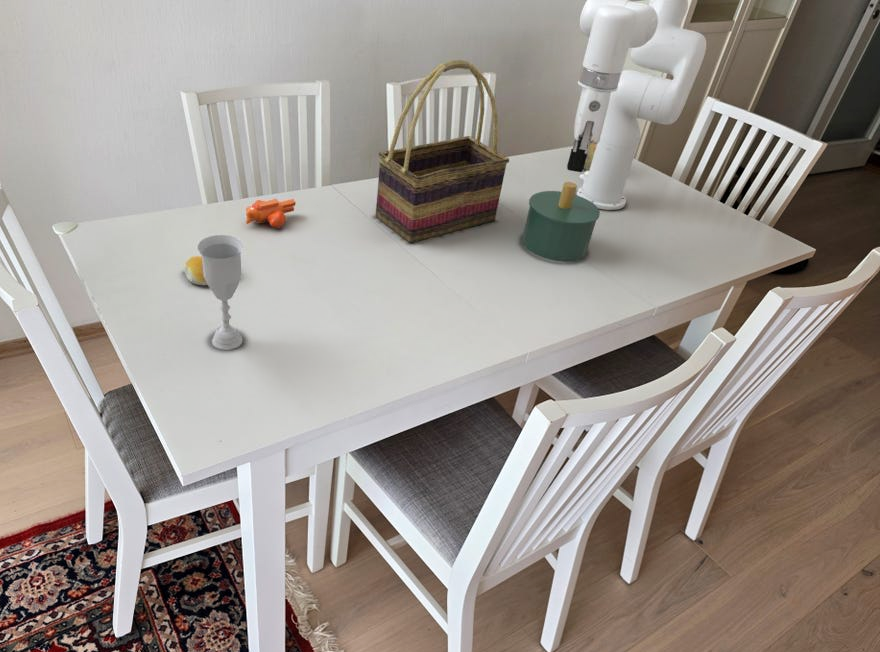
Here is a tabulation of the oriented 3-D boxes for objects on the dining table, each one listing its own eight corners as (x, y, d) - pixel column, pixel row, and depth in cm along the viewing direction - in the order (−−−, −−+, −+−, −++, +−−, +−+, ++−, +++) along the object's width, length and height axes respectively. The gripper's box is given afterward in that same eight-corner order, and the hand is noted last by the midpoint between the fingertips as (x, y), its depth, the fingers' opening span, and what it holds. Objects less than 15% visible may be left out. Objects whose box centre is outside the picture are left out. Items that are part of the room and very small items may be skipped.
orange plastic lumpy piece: (289, 188, 150) (240, 199, 143) (306, 211, 147) (257, 223, 141) (285, 205, 153) (237, 216, 147) (302, 228, 151) (254, 240, 144)
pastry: (578, 155, 199) (585, 128, 194) (621, 164, 197) (629, 137, 192) (571, 171, 189) (579, 143, 184) (616, 182, 186) (625, 153, 181)
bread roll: (240, 280, 130) (240, 262, 127) (194, 290, 125) (193, 272, 123) (224, 259, 135) (223, 242, 132) (179, 269, 130) (177, 251, 128)
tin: (510, 246, 151) (519, 206, 145) (540, 225, 161) (549, 187, 155) (568, 270, 145) (580, 230, 139) (596, 247, 154) (608, 209, 149)
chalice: (209, 327, 117) (201, 233, 106) (249, 328, 118) (245, 236, 107) (203, 353, 111) (194, 257, 100) (245, 354, 112) (241, 259, 101)
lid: (515, 209, 145) (521, 182, 142) (548, 189, 155) (554, 163, 152) (580, 235, 139) (588, 207, 135) (609, 212, 149) (617, 186, 145)
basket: (408, 245, 147) (428, 77, 125) (370, 216, 155) (383, 55, 134) (499, 221, 160) (531, 66, 138) (459, 196, 169) (484, 46, 147)
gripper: (621, 92, 124) (593, 187, 135) (616, 71, 136) (591, 159, 147) (580, 86, 125) (556, 180, 136) (579, 65, 136) (556, 154, 148)
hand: (574, 169), depth 141 cm, fingers closed
